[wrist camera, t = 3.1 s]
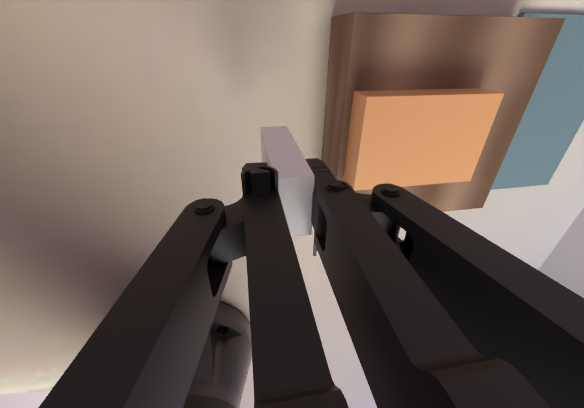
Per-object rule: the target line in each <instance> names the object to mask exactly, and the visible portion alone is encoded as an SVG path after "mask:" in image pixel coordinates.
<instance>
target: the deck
mask: <svg viewBox="0 0 584 408" xmlns="http://www.w3.org/2000/svg"><path fill="white" fill-rule="evenodd" d="M565 19H566V18H539V17H502V16H464V15H426V14H389V13H350V14H345V15H340V16H335V17H332V22H331V36H330V50H329V64H328V79H327V93H326V107H325V121H324V136H323V150H322V161H323V162H324V163H325V164H326V165H327V167H328V168H329V170H330V172H332V174H333V175H334V177H335V178H336V180H340V181H344V182H346V181H345V179H344V178H343V177H344V169H345V160H346V152H347V143H348V135H349V127H350V118H351V110H352V101H353V93H354V91H378V90H423V89H467V88H481V89H486V90H491V91H495V92H500V93H504V96H503V98H502V101H501V103H500V106H499V109H498V111H497V114H496V116H495V119H494V121H493V124H492V127H491V129H490V132H489V134H488V137H487V139H486V142H485V145H484V147H483V150H482V152H481V155H480V157H479V160H478V163H477V165H476V168H475V170H474V173H473V175H472V178H471V181H464V182H452V183H440V184H429V185H417V186H405V187H402V188H404V189H406V190H407V191H409V192H411V193H412V194H414V195H416V196H417V197H419V198H420V199H422V200H424V201H425V202H427V203H429V204H430V205H432V206H434V207H435V208H437V209H438V210H440V211H442V212H444V211H454V210H463V209H473V208H483V205H484V203H485V201H486V198H487V196H488V194H489V192H490V189H491V187H492V185H493V183H494V180H495V178H496V176H497V173H498V171H499V169H500V167H501V164H502V162H503V160H504V158H505V155H506V153H507V151H508V148H509V146H510V144H511V142H512V139H513V137H514V135H515V133H516V130H517V128H518V126H519V123H520V121H521V119H522V117H523V114H524V112H525V110H526V108H527V105H528V103H529V101H530V98H531V96H532V94H533V92H534V89H535V87H536V85H537V82H538V80H539V78H540V76H541V73H542V71H543V69H544V67H545V64H546V62H547V60H548V57H549V55H550V53H551V51H552V48H553V46H554V44H555V42H556V39H557V37H558V35H559V32H560V30H561V28H562V26H563V23H564V21H565ZM346 183H347V182H346ZM372 190H373V189H370V190H358V191H355V192H356V193H361V194H372Z"/></svg>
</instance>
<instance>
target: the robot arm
mask: <svg viewBox="0 0 584 408" xmlns="http://www.w3.org/2000/svg"><path fill="white" fill-rule="evenodd" d="M260 129H261V149H262V163H246V164H245V165H244V167H243V168H242V173H241V180H242V190H243V197H242V198H241V199H240V200H239V201H238V202H236V203H234V204H231V205H228V206H224V204H223V203H222V202H221V201H219V200H217V199H211V198H208V199H206V198H204V199H199V200H196V201H194V202H192V203H190V204H189V205H188V206H186V207H185V209H184V210H183V211H182V213H181V214H180V215H179V217H178V218H177V220H176V221H175V222H174V224H173V225H172V226H171V228H170V229H169V230H168V232H167V233H166V235H165V236H164V237H163V239H162V240H161V241H160V243H159V244H158V245H157V247H156V248H155V250H154V251H153V252H152V254H151V255H150V256H149V258H148V259H147V260H146V262H145V263H144V265H143V266H142V267H141V269H140V270H139V271H138V273H137V274H136V276H135V277H134V278H133V280H132V281H131V282H130V284H129V285H128V286H127V288H126V289H125V291H124V292H123V293H122V295H121V296H120V297H119V299H118V300H117V301H116V303H115V304H114V306H113V307H112V308H111V310H110V311H109V312H108V314H107V315H106V316H105V318H104V319H103V321H102V322H101V323H100V325H99V326H98V327H97V329H96V330H95V331H94V333H93V334H92V336H91V337H90V338H89V340H88V341H87V342H86V344H85V345H84V346H83V348H82V349H81V351H80V352H79V353H78V355H77V356H76V357H75V359H74V360H73V361H72V363H71V364H70V366H69V367H68V368H67V370H66V371H65V372H64V374H63V375H62V376H61V378H60V379H59V381H58V382H57V383H56V385H55V386H54V387H53V389H52V390H51V391H50V393H49V394H48V396H47V397H46V398H45V400H44V401H43V403H42V404H41V405H40V407H39V408H239V405H240V401H241V397H242V393H243V389H244V385H245V381H246V378H247V374H248V370H249V366H250V362H251V358H252V362H253V380H254V408H349V407H348V405H347V402H346V399H345V397H344V395H343V393H342V391H341V390H340V389H339V388H338V387H336V386H335V385H334V383H333V381H332V378H331V375H330V371H329V368H328V364H327V361H326V357H325V354H324V350H323V347H322V343H321V340H320V336H319V333H318V329H317V326H316V322H315V319H314V315H313V312H312V308H311V304H310V301H309V297H308V294H307V290H306V287H305V283H304V280H303V276H302V273H301V269H300V266H299V262H298V259H297V255H296V252H295V248H294V245H293V241H292V238H291V236H300V235H310V234H311V231H312V225H313V227H314V230H315V232H314V247H313V256H316V251H317V250H318V253H319V255H320V258H321V260H322V263H323V266H324V268H325V271H326V274H327V276H328V279H329V281H330V284H331V287H332V289H333V292H334V295H335V297H336V300H337V303H338V305H339V308H340V310H341V313H342V316H343V318H344V321H345V324H346V326H347V329H348V331H349V334H350V337H351V339H352V342H353V345H354V347H355V350H356V353H357V355H358V358H359V360H360V363H361V366H362V368H363V371H364V374H365V376H366V379H367V381H368V384H369V387H370V389H371V392H372V395H373V397H374V400H375V403H376V405H377V408H584V298H582V297H581V296H579V295H577V294H576V293H574V292H572V291H571V290H569V289H567V288H566V287H564V286H562V285H561V284H559V283H558V282H556V281H554V280H553V279H551V278H550V277H548V276H546V275H545V274H543V273H541V272H540V271H538V270H536V269H535V268H533V267H532V266H530V265H528V264H527V263H525V262H523V261H522V260H520V259H518V258H517V257H515V256H514V255H512V254H510V253H509V252H507V251H505V250H504V249H502V248H501V247H499V246H497V245H496V244H494V243H492V242H491V241H489V240H487V239H486V238H484V237H483V236H481V235H479V234H478V233H476V232H474V231H473V230H471V229H469V228H468V227H466V226H465V225H463V224H461V223H460V222H458V221H456V220H455V219H453V218H451V217H450V216H448V215H447V214H445V213H443V212H442V211H440V210H438V209H437V208H435V207H434V206H432V205H430V204H429V203H427V202H425V201H424V200H422V199H420V198H419V197H417V196H416V195H414V194H412V193H411V192H409V191H407V190H406V189H404V188H402V187H400V186H397V185H394V184H390V183H389V184H388V183H385V184H378V185H376V186H374V188H373V190H372V194H361V193H356V192H355V191H354V189H353V188H352V187H351V186H350V185H349V184H348V183H346V182H344V181H340V180H336V178H335V177H334V175H333V174H332V172H330V170H329V168H328V167H327V165H326V164H325V163H324V162H323V161H321V160H319V159H318V158H316V159H305V158H304V156H303V154H302V153H301V151H300V149H299V147H298V146H297V144H296V142H295V140H294V139H293V137H292V135H291V133H290V131H289V130H288V128H287V126H283V127H260ZM400 227H401V228H403V229H404V230H405V231H407V232H406V236H405V239H404V241H403V240H401V239H400V238H399V237H398V234H399V230H400ZM243 256H246V257H247V275H248V292H249V310H250V323H249V322H248V320H247V319H246V317H245V316H244V315H243V314H242V313H241V312H239V311H238V310H236V309H235V308H233V307H231V306H229V305H227V304H224V303H222V302H220V299H221V296H222V293H223V290H224V287H225V285H226V282H227V279H228V276H229V273H230V270H231V267H232V260H235V259H238V258H240V257H243Z"/></svg>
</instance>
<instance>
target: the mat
mask: <svg viewBox="0 0 584 408" xmlns="http://www.w3.org/2000/svg"><path fill="white" fill-rule="evenodd" d="M519 17H539V18H566V19H565V21H564V23H563V26H562V28H561V30H560V32H559V35H558V37H557V39H556V42H555V44H554V46H553V48H552V51H551V53H550V55H549V57H548V60H547V62H546V64H545V67H544V69H543V71H542V73H541V76H540V78H539V80H538V82H537V85H536V87H535V89H534V92H533V94H532V96H531V98H530V101H529V103H528V105H527V108H526V110H525V112H524V114H523V117H522V119H521V121H520V123H519V126H518V128H517V130H516V133H515V135H514V137H513V139H512V142H511V144H510V146H509V148H508V151H507V153H506V155H505V158H504V160H503V162H502V164H501V167H500V169H499V171H498V173H497V176H496V178H495V180H494V183H493V185H492V187H491V189H490V190H492V189H503V188H514V187H525V186H536V185H547V184H548V183H549V181H550V179H551V178H552V176H553V174H554V172H555V171H556V169H557V167H558V165H559V163H560V162H561V160H562V158H563V156H564V154H565V153H566V151H567V149H568V147H569V145H570V144H571V142H572V140H573V138H574V136H575V135H576V133H577V131H578V129H579V127H580V126H581V124H582V122H583V120H584V15H578V14H544V13H520V14H519Z"/></svg>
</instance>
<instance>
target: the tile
mask: <svg viewBox="0 0 584 408" xmlns="http://www.w3.org/2000/svg"><path fill="white" fill-rule="evenodd" d="M503 96H504V93H500V92H495V91H491V90H486V89H481V88H467V89H423V90H378V91H354V93H353V101H352V110H351V118H350V127H349V135H348V143H347V152H346V160H345V169H344V177H343V178H344V179H345V181H346V182H347V183H348V184H349V185H350V186H351V187H352V188H353V189H354V191H358V190H370V189H373V188H374V186H376V185H378V184H385V183H388V184H389V183H390V184H394V185H397V186H400V187H405V186H417V185H429V184H440V183H452V182H464V181H471V178H472V175H473V173H474V170H475V168H476V165H477V163H478V160H479V157H480V155H481V152H482V150H483V147H484V145H485V142H486V139H487V137H488V134H489V132H490V129H491V127H492V124H493V121H494V119H495V116H496V114H497V111H498V109H499V106H500V103H501V101H502V98H503Z"/></svg>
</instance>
